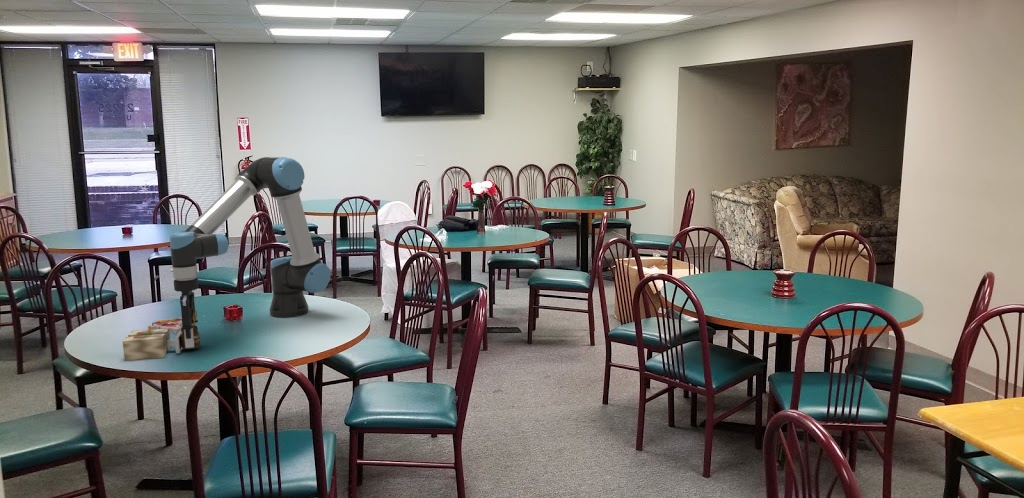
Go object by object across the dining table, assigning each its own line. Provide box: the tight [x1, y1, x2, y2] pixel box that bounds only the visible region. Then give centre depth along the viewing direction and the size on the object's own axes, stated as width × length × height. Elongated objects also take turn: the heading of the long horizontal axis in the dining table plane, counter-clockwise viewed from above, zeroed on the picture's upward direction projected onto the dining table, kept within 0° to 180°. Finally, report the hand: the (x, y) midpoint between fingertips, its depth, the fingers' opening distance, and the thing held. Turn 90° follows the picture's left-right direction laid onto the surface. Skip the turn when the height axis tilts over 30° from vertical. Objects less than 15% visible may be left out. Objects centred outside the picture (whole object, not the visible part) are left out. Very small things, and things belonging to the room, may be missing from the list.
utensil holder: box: [180, 310, 201, 350], centre depth 263 cm, size 6×6×12 cm
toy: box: [150, 316, 182, 335], centre depth 291 cm, size 15×4×20 cm
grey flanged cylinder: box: [147, 325, 184, 354], centre depth 261 cm, size 14×9×9 cm, turn 104°
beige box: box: [122, 328, 171, 361], centre depth 260 cm, size 12×13×7 cm
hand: (191, 344), depth 264 cm, fingers closed on utensil holder, 6 cm apart
